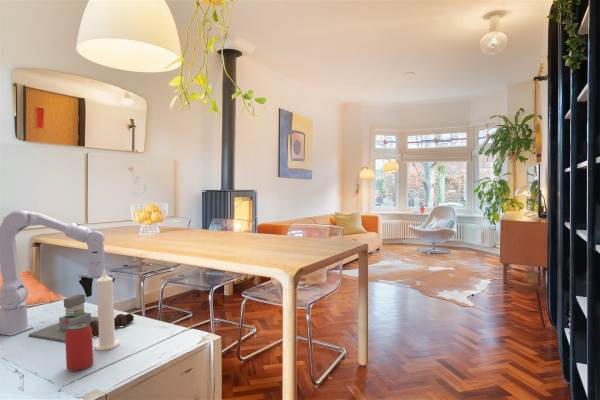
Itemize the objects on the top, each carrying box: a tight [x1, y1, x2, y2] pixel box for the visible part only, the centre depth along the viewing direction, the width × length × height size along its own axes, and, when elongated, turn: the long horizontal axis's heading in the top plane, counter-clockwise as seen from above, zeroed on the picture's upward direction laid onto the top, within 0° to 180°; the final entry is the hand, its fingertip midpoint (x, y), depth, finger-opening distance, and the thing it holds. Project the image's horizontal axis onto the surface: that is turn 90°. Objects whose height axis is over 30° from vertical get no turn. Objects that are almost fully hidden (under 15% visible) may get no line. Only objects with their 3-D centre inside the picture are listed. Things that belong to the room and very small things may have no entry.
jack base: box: [28, 311, 98, 343], centre depth 134 cm, size 20×20×5 cm
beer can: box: [64, 322, 94, 372], centre depth 105 cm, size 7×7×12 cm
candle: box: [94, 268, 121, 352], centre depth 118 cm, size 7×7×25 cm
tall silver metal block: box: [63, 293, 86, 318], centre depth 134 cm, size 4×6×8 cm
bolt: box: [90, 313, 135, 337], centre depth 133 cm, size 6×5×15 cm
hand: (97, 296), depth 143 cm, fingers open, 7 cm apart
